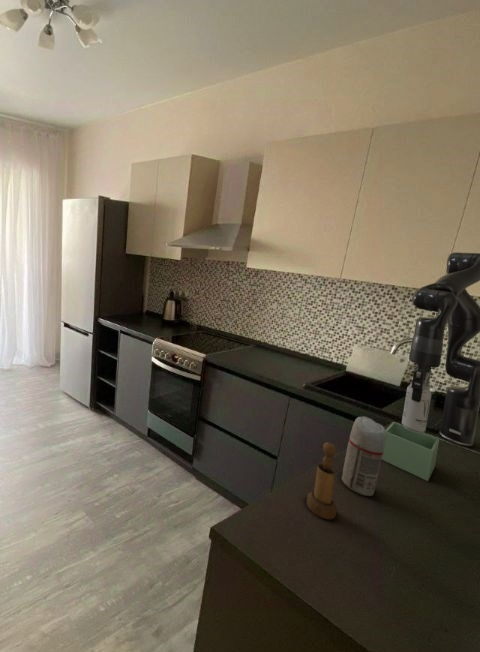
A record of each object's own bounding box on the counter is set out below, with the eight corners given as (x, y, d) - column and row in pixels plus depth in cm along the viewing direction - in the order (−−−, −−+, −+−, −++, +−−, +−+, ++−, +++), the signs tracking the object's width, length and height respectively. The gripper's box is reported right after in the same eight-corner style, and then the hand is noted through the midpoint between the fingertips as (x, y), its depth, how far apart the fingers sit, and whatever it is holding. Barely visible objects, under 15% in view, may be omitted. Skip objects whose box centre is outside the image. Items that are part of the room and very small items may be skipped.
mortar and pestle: (301, 498, 90) (310, 435, 88) (323, 499, 90) (332, 436, 89) (317, 519, 83) (328, 451, 82) (341, 520, 84) (352, 452, 82)
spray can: (371, 483, 99) (382, 419, 98) (379, 502, 92) (391, 433, 90) (338, 472, 102) (348, 410, 101) (344, 489, 95) (354, 423, 94)
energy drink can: (419, 435, 107) (426, 390, 106) (397, 425, 112) (404, 382, 111) (428, 432, 109) (436, 389, 108) (407, 422, 115) (413, 381, 114)
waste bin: (388, 447, 120) (393, 421, 119) (434, 467, 111) (439, 439, 110) (379, 458, 112) (384, 431, 112) (428, 481, 103) (433, 451, 102)
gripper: (438, 356, 101) (429, 409, 103) (445, 350, 111) (436, 398, 112) (406, 348, 107) (398, 398, 108) (415, 343, 116) (407, 389, 117)
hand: (417, 398), depth 110 cm, fingers closed on energy drink can, 6 cm apart
